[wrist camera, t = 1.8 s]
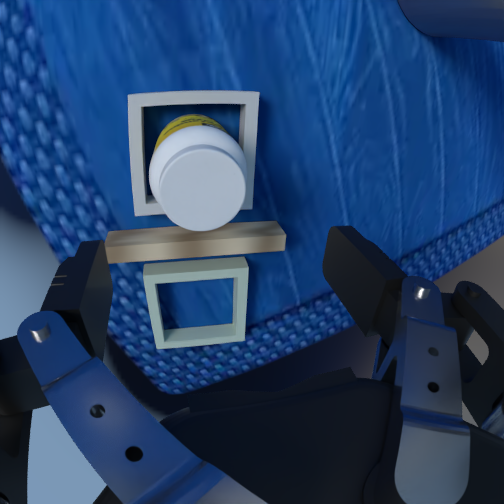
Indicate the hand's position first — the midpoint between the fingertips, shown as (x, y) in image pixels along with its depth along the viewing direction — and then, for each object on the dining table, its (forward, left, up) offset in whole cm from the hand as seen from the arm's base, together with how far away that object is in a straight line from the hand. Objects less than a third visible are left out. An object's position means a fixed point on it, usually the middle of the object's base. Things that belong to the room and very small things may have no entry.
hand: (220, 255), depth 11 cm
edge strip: (0, +8, -18) cm, 19 cm away
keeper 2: (0, +16, -18) cm, 24 cm away
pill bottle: (0, 0, -18) cm, 18 cm away
